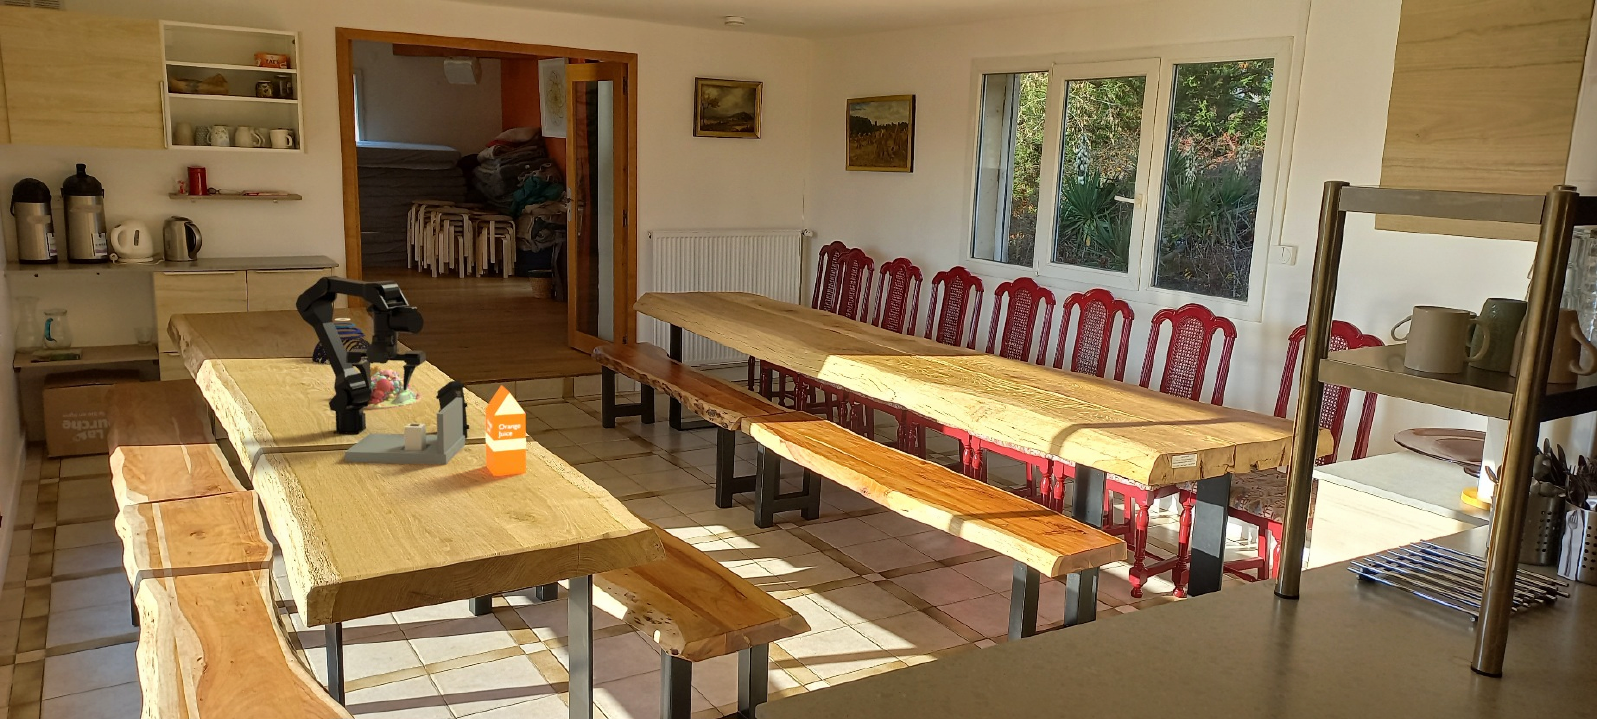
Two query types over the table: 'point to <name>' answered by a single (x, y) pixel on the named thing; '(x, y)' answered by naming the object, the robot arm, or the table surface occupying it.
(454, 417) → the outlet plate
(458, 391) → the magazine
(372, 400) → the candy landscape model
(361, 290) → the robot arm
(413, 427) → the block
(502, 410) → the orange juice
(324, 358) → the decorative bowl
